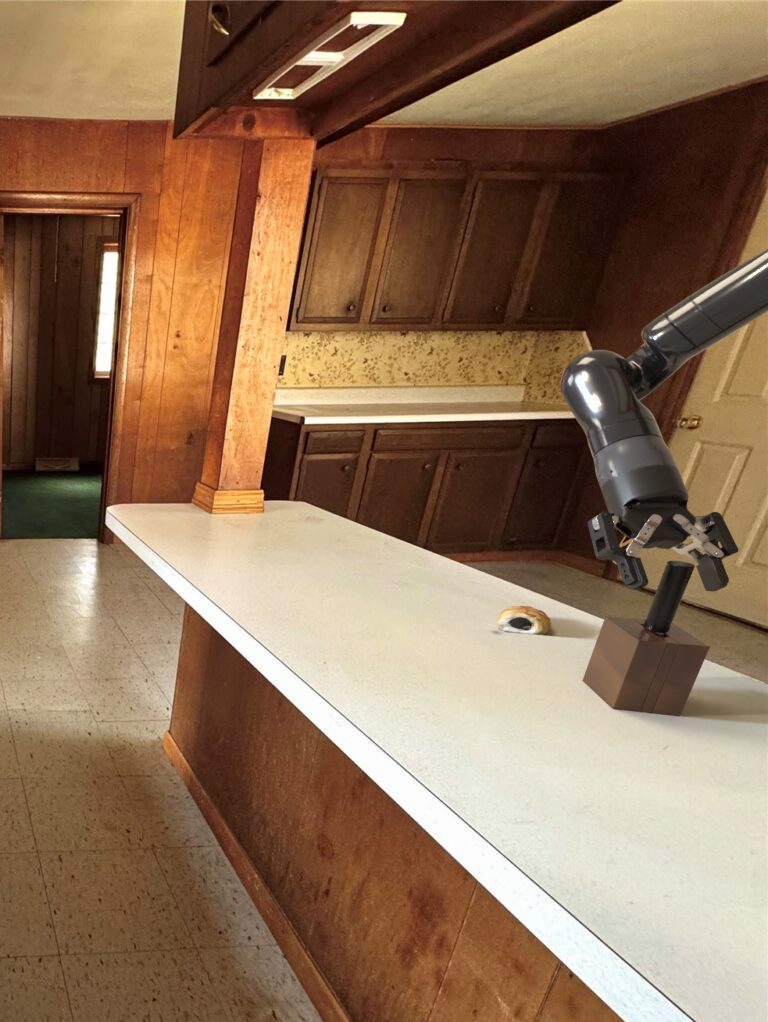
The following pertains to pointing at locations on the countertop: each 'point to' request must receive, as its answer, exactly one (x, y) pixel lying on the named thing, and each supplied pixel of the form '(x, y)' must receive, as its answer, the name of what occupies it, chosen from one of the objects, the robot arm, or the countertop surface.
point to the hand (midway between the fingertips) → (678, 588)
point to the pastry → (524, 620)
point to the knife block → (644, 667)
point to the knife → (668, 597)
